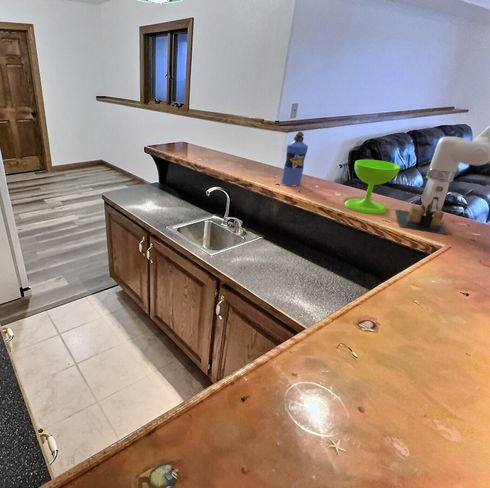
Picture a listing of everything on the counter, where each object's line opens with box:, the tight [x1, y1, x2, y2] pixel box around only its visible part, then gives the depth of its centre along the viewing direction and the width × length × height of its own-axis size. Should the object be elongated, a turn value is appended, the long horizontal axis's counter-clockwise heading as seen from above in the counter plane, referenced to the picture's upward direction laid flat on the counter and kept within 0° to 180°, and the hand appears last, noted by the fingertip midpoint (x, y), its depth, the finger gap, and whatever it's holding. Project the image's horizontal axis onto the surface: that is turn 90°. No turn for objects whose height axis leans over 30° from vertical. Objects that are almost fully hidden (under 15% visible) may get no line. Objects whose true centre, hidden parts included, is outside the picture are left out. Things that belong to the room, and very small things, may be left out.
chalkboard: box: [395, 209, 449, 236], centre depth 131 cm, size 14×20×1 cm
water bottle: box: [281, 131, 309, 186], centre depth 170 cm, size 9×9×25 cm
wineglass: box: [343, 159, 402, 215], centre depth 142 cm, size 16×16×18 cm
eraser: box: [405, 205, 445, 230], centre depth 126 cm, size 10×6×6 cm, turn 64°
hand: (422, 222), depth 127 cm, fingers closed on eraser, 5 cm apart
